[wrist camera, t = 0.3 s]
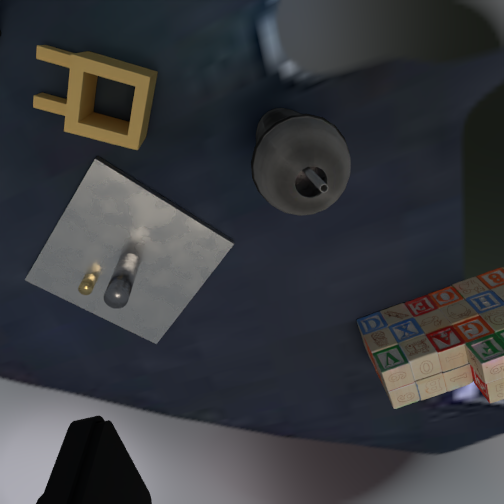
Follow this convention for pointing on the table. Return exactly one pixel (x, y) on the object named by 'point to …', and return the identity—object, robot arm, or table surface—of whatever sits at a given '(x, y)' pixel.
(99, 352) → the table surface
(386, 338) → the stack of blocks
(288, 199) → the beverage cup
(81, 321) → the table surface
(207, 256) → the post base
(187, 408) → the table surface
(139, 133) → the yellow hollow square block
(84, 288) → the dowel
